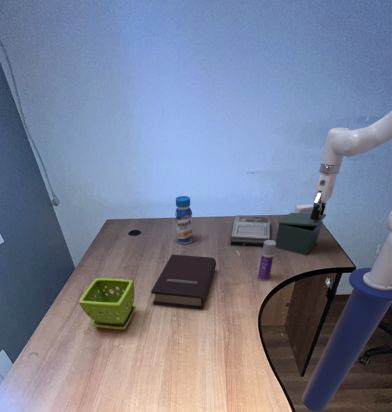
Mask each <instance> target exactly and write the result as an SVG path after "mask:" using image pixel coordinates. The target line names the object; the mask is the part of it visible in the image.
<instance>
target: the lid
mask: <svg viewBox="0 0 392 412" xmlns="http://www.w3.org/2000/svg"><path fill="white" fill-rule="evenodd" d="M321 210H322V207H321V208H320V212H321ZM310 217H311V214H308V213H294V212H290V213H289V214H287V215H286V216H285V217H283V219H281V220H280V221H279V222H278V225H279V224H288V225H303V226H317V225H318V224H319V223H320V222H321V221H323V220H324V219H325V218H326V217H327V214H326V213H323V215H320V214H319V218H318V220H312V219H310Z"/></svg>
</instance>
